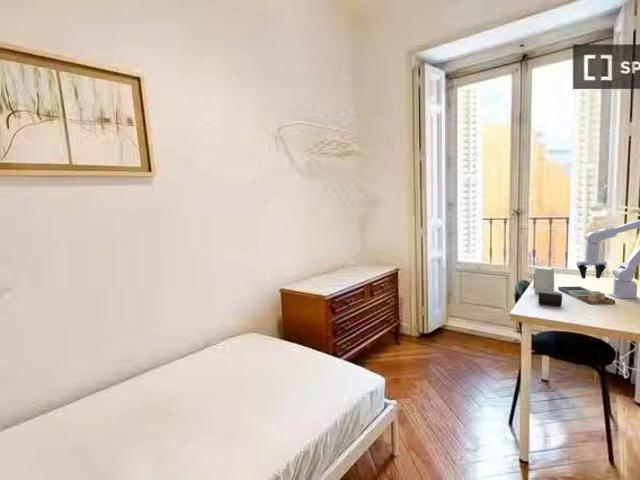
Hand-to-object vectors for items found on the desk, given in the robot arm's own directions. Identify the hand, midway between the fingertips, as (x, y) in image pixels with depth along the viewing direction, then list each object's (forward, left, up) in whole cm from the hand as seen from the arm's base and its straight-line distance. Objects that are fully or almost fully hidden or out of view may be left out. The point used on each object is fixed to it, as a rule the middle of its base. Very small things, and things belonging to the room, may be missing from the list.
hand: (590, 278), depth 204 cm
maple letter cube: (+5, +14, -10) cm, 17 cm away
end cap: (+31, +19, -10) cm, 38 cm away
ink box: (+18, -14, -10) cm, 25 cm away
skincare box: (+23, -3, -10) cm, 25 cm away
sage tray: (+5, +4, -9) cm, 11 cm away
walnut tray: (+5, +14, -9) cm, 17 cm away
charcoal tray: (+5, -6, -9) cm, 12 cm away
